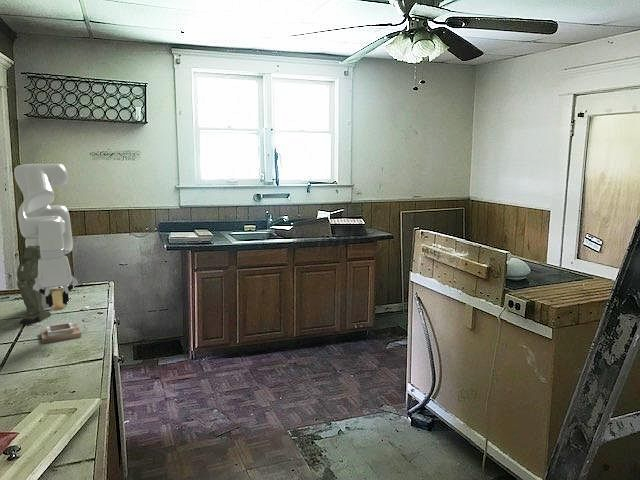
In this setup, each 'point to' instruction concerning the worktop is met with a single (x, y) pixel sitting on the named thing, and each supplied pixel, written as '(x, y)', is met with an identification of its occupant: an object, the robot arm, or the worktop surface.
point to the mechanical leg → (30, 286)
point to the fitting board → (60, 332)
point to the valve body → (57, 299)
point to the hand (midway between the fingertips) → (57, 304)
